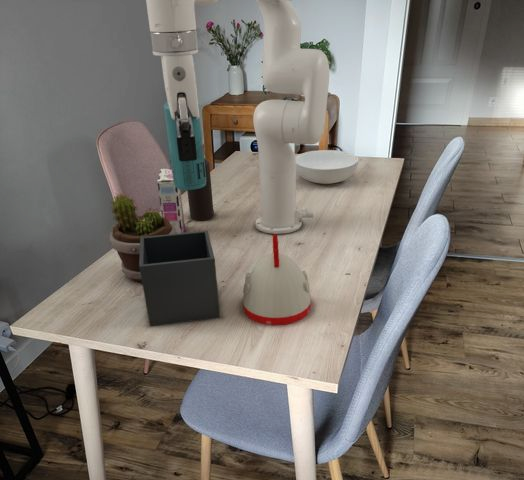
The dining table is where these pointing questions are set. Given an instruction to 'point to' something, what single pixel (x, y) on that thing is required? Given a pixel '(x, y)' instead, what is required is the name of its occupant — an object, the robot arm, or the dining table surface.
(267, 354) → the dining table surface
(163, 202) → the candy bar box
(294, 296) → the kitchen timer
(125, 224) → the flowerpot
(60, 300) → the dining table surface
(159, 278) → the waste bin
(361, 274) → the dining table surface
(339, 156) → the serving bowl
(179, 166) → the beverage bottle
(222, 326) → the dining table surface
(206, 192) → the vinegar
